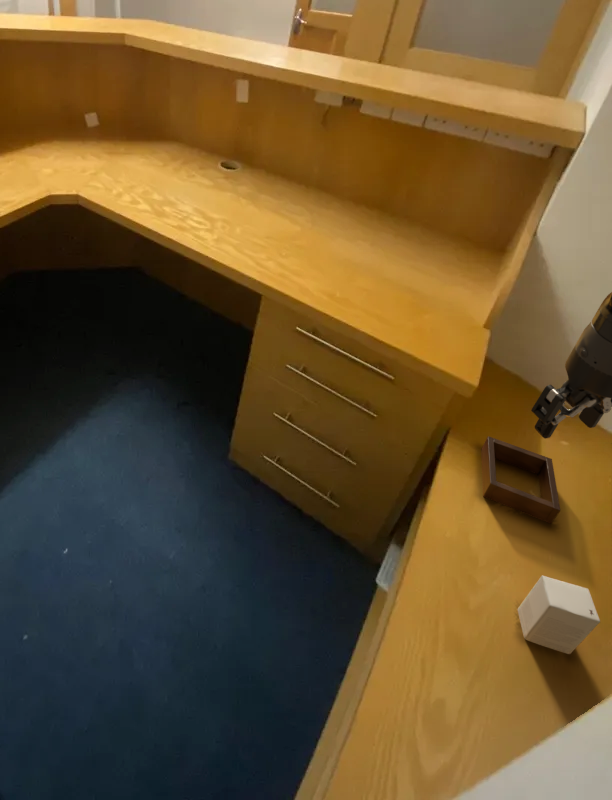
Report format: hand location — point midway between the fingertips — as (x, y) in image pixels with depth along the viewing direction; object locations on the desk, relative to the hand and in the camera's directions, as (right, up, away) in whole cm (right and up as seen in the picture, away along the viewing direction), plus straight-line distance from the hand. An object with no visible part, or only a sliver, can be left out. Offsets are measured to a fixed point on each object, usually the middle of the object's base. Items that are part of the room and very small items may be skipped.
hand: (563, 428), depth 80 cm
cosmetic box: (-6, -30, -3) cm, 31 cm away
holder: (+3, -19, +16) cm, 25 cm away
